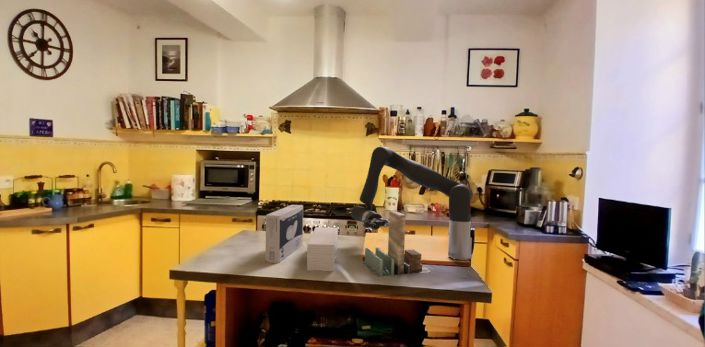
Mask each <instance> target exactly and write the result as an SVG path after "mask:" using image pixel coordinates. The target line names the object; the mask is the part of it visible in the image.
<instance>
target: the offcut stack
mask: <svg viewBox="0 0 705 347" xmlns="http://www.w3.org/2000/svg"><path fill="white" fill-rule="evenodd" d="M421 260H422V253H420V252H418V251H417V250H415V249H404V262H405V263H407V264H408V265H410V270H422V266H423V264H422V263H421Z"/></svg>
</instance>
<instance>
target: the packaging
mask: <svg viewBox="0 0 705 347" xmlns="http://www.w3.org/2000/svg"><path fill="white" fill-rule="evenodd" d="M303 234H304V205H303V204H300V205H299V204H290V205H288V206H285V207H283V208H281V209H279V210H275V211H273V212H270V213H267V214H266V215H265V259H264V260H265V261H267V262H266V263H272V262H276V263H275V264H280V263H281V262H282V261H284V260H285V259H286V258H288V257H289V256H290V255H292V254H293V253H294V252H296V251H297V250H298V249H299V248H301V247H302V246H304V245H303V244H304V243H303V242H304V239H303V238H304V235H303Z"/></svg>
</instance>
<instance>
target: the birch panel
mask: <svg viewBox="0 0 705 347" xmlns="http://www.w3.org/2000/svg"><path fill="white" fill-rule="evenodd" d="M388 220H389V227H388V238H387V239H388V240H387V255H389V256H390V257H392V258H393V259H394V262H395V263H396V264H397V265H399V266H400V272H404V254H405V242H406V240H405V239H406V238H405V237H406V234H405V233H406V214H404V213H401V212H398V211H396V210H389V212H388Z"/></svg>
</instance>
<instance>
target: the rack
mask: <svg viewBox="0 0 705 347" xmlns="http://www.w3.org/2000/svg"><path fill="white" fill-rule="evenodd" d="M363 264H364V265H365V266H366V267H367V268H368V269H369V270H370V271H371V272H372V273H374V275H375V276H377V277H388V276H401V275H412V274H413V275H414V274H415V275H416V274H424V273H433V271H432V270H431V269H428V268H427V267H425V266H424V265H422V270H410V265H408V264H407V263H405V262H404V272H400V266H399V265H397V264H396V263H395V262H394V259H393V258H392V257H390V256H389V255H388V253H386V252H384V251H383V250H382V249H380V247H375V253H374V252H373V251H372V250H370V249H369V248H368V247H367V248H366V247H365V248H364V262H363Z"/></svg>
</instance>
